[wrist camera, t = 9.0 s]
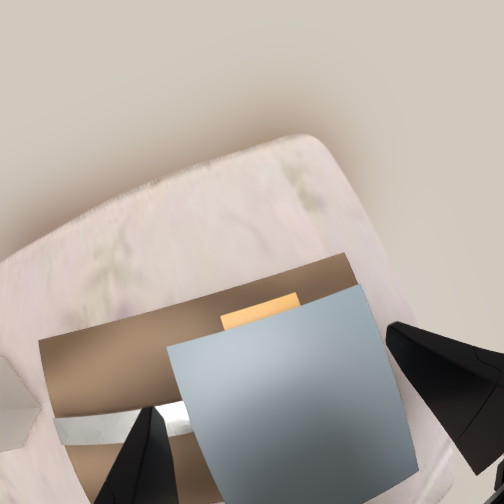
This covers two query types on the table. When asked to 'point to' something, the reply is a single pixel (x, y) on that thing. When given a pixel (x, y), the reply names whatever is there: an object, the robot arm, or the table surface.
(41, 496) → the table surface
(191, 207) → the table surface
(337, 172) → the table surface
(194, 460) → the rail board
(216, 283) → the table surface
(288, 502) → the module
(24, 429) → the white cube
